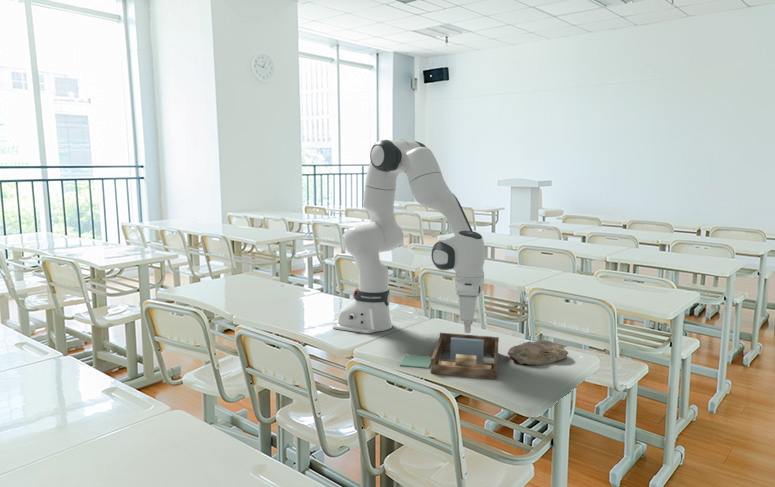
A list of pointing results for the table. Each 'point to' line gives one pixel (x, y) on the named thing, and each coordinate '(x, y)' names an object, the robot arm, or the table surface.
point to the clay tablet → (537, 352)
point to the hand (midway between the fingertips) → (468, 328)
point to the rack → (445, 344)
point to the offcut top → (465, 360)
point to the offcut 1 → (446, 363)
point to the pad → (416, 361)
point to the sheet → (467, 347)
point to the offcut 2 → (483, 366)
